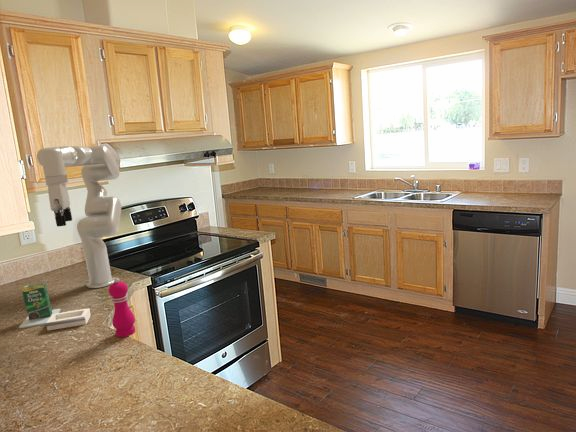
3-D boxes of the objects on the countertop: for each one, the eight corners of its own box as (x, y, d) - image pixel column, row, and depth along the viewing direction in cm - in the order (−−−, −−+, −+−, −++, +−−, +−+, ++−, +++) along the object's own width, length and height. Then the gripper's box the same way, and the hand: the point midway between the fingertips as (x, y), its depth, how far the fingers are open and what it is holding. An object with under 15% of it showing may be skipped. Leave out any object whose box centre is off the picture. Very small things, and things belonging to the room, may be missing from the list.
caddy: (53, 321, 163) (52, 314, 163) (90, 315, 166) (89, 308, 166) (46, 331, 155) (45, 324, 154) (85, 325, 158) (84, 317, 157)
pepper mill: (129, 338, 144) (119, 281, 140) (110, 338, 146) (100, 281, 142) (141, 328, 151) (131, 274, 147) (122, 328, 153) (112, 274, 149)
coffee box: (27, 320, 165) (20, 288, 162) (30, 317, 168) (23, 285, 165) (50, 316, 166) (43, 284, 164) (52, 313, 169) (46, 282, 166)
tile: (30, 314, 172) (30, 313, 172) (60, 309, 174) (60, 308, 174) (18, 328, 160) (18, 327, 159) (51, 323, 162) (51, 321, 162)
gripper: (52, 179, 175) (60, 220, 179) (38, 184, 159) (48, 229, 162) (72, 177, 177) (80, 218, 180) (61, 181, 160) (69, 226, 164)
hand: (64, 223), depth 171 cm, fingers open, 9 cm apart
